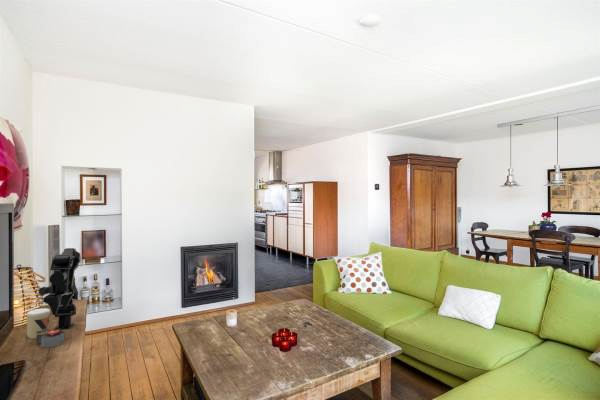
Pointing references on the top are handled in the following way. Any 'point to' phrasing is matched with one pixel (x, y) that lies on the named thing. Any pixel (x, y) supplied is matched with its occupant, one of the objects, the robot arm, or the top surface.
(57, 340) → the grey open tray
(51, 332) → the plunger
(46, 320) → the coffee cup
